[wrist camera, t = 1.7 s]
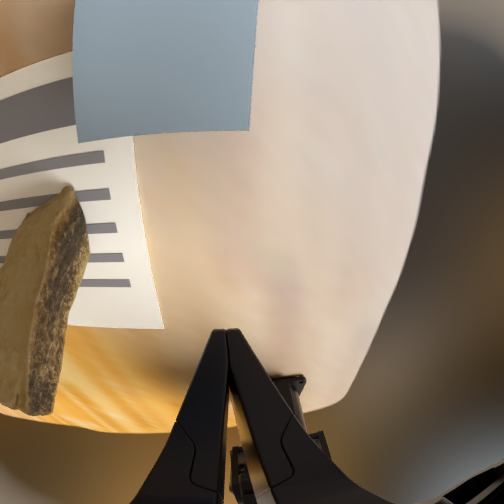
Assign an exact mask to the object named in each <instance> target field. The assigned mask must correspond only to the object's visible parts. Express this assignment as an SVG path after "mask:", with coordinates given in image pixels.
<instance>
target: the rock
mask: <svg viewBox="0 0 504 504" xmlns="http://www.w3.org/2000/svg"><path fill="white" fill-rule="evenodd" d="M89 257H90V247H89V239H88V232H87V226H86V219H85V216H84V213H83V210H82V208H81V205H80V203H79V201H78V200H77V198H76V195H75V192H74V188H73V187H71V186H65V187H64V188H63V189H62V190H61V192H60V194H59V195H58V196H56V197H54V198H53V199H51V200H49V201H48V202H46V203H45V204H44V205H42V206H39V207H37V208H36V209H35V210H33V211H32V212H31V213H27V215H26V217H25V218H24V220H23V221H22V223H21V225H20V226H19V227H18V228H17V230H16V232H15V233H14V235H13V238H12V241H11V243H10V245H9V249H8V252H7V255H6V258H5V262H4V265H3V266H2V267H1V268H0V403H1V404H2V405H4V406H6V407H9V408H11V409H13V410H16V409H18V410H20V411H22V412H24V413H25V414H28V415H31V416H37V415H42V416H43V415H48V414H51V413H52V412H53V408H54V403H55V396H56V392H57V386H58V383H59V376H60V372H61V367H62V359H63V350H64V345H65V332H66V328H67V324H68V315H69V311H70V309H71V307H72V305H73V302H74V300H75V297H76V294H77V291H78V288H79V286H80V283H81V281H82V279H83V275H84V272H85V269H86V266H87V263H88V260H89Z"/></svg>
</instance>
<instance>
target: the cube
mask: <svg viewBox="0 0 504 504" xmlns="http://www.w3.org/2000/svg"><path fill="white" fill-rule="evenodd" d="M257 10H258V0H75V9H74V22H73V44H72V72H73V95H74V109H75V120H76V129H77V138H78V143H84V142H90V141H96V140H103V139H110V138H118V137H126V136H136V135H146V134H157V133H171V132H190V131H249V125H250V109H251V94H252V79H253V65H254V51H255V37H256V23H257Z"/></svg>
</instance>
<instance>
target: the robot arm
mask: <svg viewBox="0 0 504 504" xmlns="http://www.w3.org/2000/svg"><path fill="white" fill-rule="evenodd" d="M305 383H306V378H305V377H295V378H287V379H277V380H271V379H270V377H269V375H268V374H267V372H266V371H265V369H264V368H263V366H262V364H261V363H260V361H259V360H258V358H257V356H256V355H255V353H254V352H253V350H252V348H251V347H250V345H249V344H248V342H247V340H246V339H245V337H244V335H243V334H242V332H241V331H240V329H238V328H234V329H227V330H225V329H214V330H212V332H211V335H210V337H209V339H208V342H207V344H206V347H205V349H204V352H203V354H202V357H201V359H200V361H199V364H198V366H197V369H196V371H195V374H194V376H193V379H192V381H191V384H190V386H189V389H188V391H187V394H186V396H185V398H184V401H183V403H182V406H181V408H180V411H179V413H178V416H177V418H176V421H177V422H175V423H174V425H173V428H172V430H171V433H170V435H169V437H168V440H167V442H166V444H165V446H164V448H163V450H162V452H161V454H160V456H159V458H158V460H157V461H156V463H155V465H154V467H153V468H152V470H151V472H150V473H149V475H148V476H147V478H146V480H145V481H144V483H143V485H142V487H141V488H140V490H139V491H138V493H137V494H136V496H135V497H134V498H133V500H132V501H131V502H130V503H129V504H223V503H224V501H223V500H224V480H225V460H226V440H227V422H228V404H229V390H230V396H231V401H232V405H233V410H234V414H235V419H236V423H237V427H238V431H239V436H240V440H241V444H242V447H239V446H235V447H232V451H230V455H231V474H230V484H229V490H230V492H231V493H233V494H234V495H235V498H236V500H237V502H238V504H394V503H392V502H390V501H388V500H386V499H384V498H382V497H380V496H378V495H376V494H374V493H372V492H370V491H368V490H366V489H365V488H363V487H361V486H359V485H358V484H356V483H355V482H353V481H352V480H351V479H350V478H349V477H348V476H347V475H346V474H344V473H343V472H342V471H341V470H340V469H339V468H338V466H336V464H335V463H334V462H333V461H332V459H331V456H330V452H329V449H328V446H327V443H326V439H325V436H324V433H323V430H322V431H318V432H317V433H313V434H309V435H308V433H307V429H306V425H305V421H304V416H303V412H302V408H301V403H300V399H299V396H300V394H301V392H302V390H303V387H304V385H305ZM415 504H504V459H503V460H501V461H499V462H498V463H496V464H494V465H492V466H490V467H488V468H486V469H484V470H482V471H480V472H478V473H476V474H474V475H473V476H471V477H469V478H468V479H466V480H464V481H462V482H461V483H459V484H457V485H456V486H454V487H453V488H451V489H450V490H448V491H446V492H445V493H443V494H441V495H440V496H438V497H436V498H433V499H429V500H426V501H422V502H419V503H415Z"/></svg>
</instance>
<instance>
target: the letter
mask: <svg viewBox="0 0 504 504" xmlns="http://www.w3.org/2000/svg"><path fill="white" fill-rule="evenodd" d="M65 186H71V187H73V188H74V192H75V195H76V198H77V200H78V201H79V203H80V205H81V208H82V210H83V213H84V216H85V219H86V226H87V232H88V239H89V247H90V257H89V260H88V263H87V266H86V269H85V272H84V275H83V279H82V281H81V283H80V286H79V288H78V291H77V294H76V297H75V300H74V302H73V305H72V307H71V309H70V311H69V315H68V324H67V325H74V326H89V327H107V328H135V329H164V323H163V319H162V315H161V311H160V307H159V302H158V298H157V293H156V289H155V284H154V280H153V275H152V270H151V265H150V260H149V254H148V249H147V243H146V237H145V231H144V225H143V219H142V212H141V205H140V198H139V190H138V182H137V173H136V163H135V153H134V141H133V136H126V137H118V138H110V139H103V140H96V141H90V142H84V143H78V138H77V129H76V120H75V109H74V95H73V72H72V51H71V52H68V53H64V54H61V55H58V56H55V57H51V58H48V59H45V60H43V61H40V62H37V63H34V64H31V65H29V66H26V67H24V68H21V69H19V70H16V71H14V72H12V73H9V74H7V75H5V76H3V77H0V268H1V267H2V266H3V265H4V262H5V258H6V255H7V252H8V249H9V245H10V243H11V241H12V238H13V235H14V233H15V232H16V230H17V228H18V227H19V226H20V225H21V223H22V221H23V220H24V218H25V217H26V215H27V213H31V212H32V211H33V210H35V209H36V208H37V207H39V206H42V205H44V204H45V203H46V202H48V201H49V200H51V199H53V198H54V197H56V196H58V195H59V194H60V192H61V190H62V189H63V188H64V187H65Z"/></svg>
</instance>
